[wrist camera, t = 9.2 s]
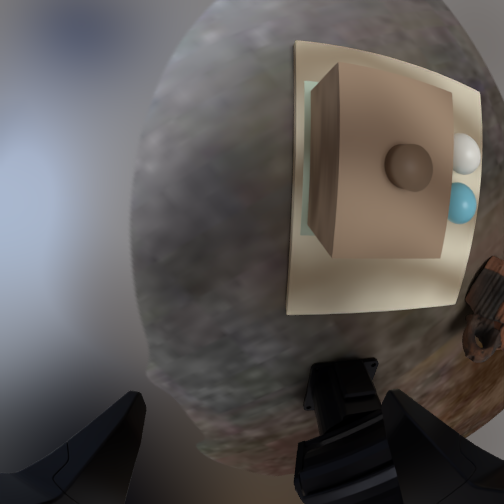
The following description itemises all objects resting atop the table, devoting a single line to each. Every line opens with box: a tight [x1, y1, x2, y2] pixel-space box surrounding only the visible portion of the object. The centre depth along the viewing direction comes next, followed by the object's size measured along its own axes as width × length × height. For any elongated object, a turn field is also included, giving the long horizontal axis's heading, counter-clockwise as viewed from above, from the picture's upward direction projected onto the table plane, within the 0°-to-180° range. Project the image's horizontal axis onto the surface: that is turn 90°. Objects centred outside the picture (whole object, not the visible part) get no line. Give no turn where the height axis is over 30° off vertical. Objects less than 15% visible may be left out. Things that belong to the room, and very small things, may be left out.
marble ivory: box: [453, 133, 481, 175], centre depth 14 cm, size 3×3×3 cm
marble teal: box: [448, 182, 477, 224], centre depth 15 cm, size 3×3×3 cm
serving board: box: [286, 40, 482, 315], centre depth 17 cm, size 19×16×1 cm
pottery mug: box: [462, 256, 504, 363], centre depth 19 cm, size 12×9×8 cm
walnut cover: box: [307, 62, 454, 259], centre depth 13 cm, size 9×6×7 cm
